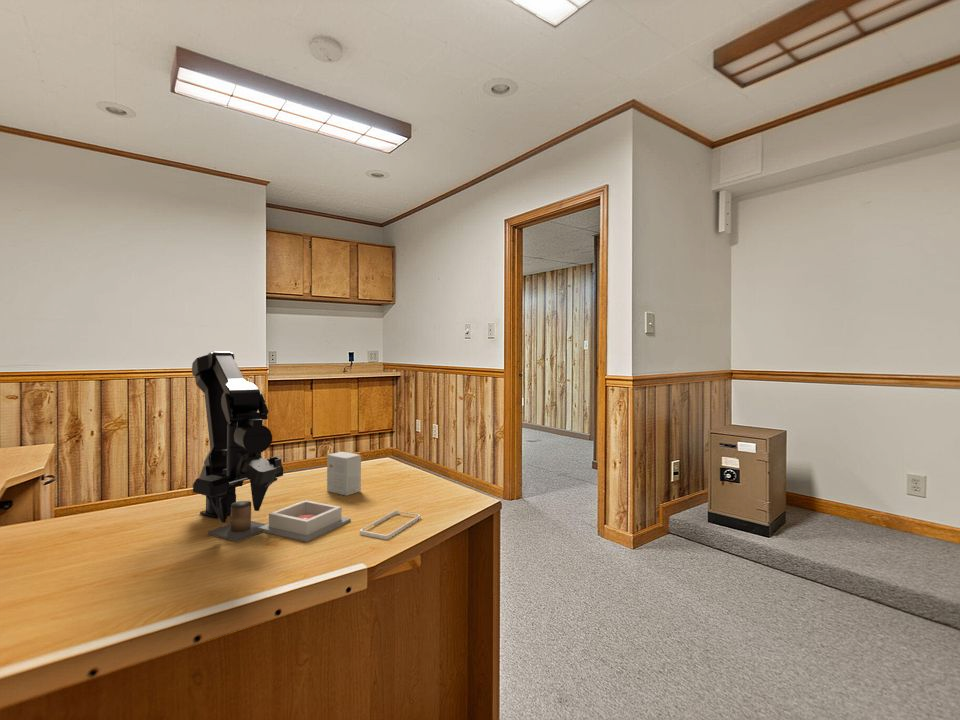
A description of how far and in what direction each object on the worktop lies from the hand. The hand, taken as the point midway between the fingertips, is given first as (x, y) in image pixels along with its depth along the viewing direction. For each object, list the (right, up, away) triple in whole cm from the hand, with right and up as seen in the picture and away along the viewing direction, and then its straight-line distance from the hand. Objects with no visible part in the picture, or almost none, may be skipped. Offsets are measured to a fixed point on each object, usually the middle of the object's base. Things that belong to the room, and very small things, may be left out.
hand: (240, 516), depth 106 cm
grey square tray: (+13, -3, +4) cm, 14 cm away
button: (+13, -3, +4) cm, 14 cm away
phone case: (+32, -5, +5) cm, 33 cm away
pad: (0, -3, 0) cm, 3 cm away
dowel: (0, -3, 0) cm, 3 cm away
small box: (+14, -3, +31) cm, 34 cm away
